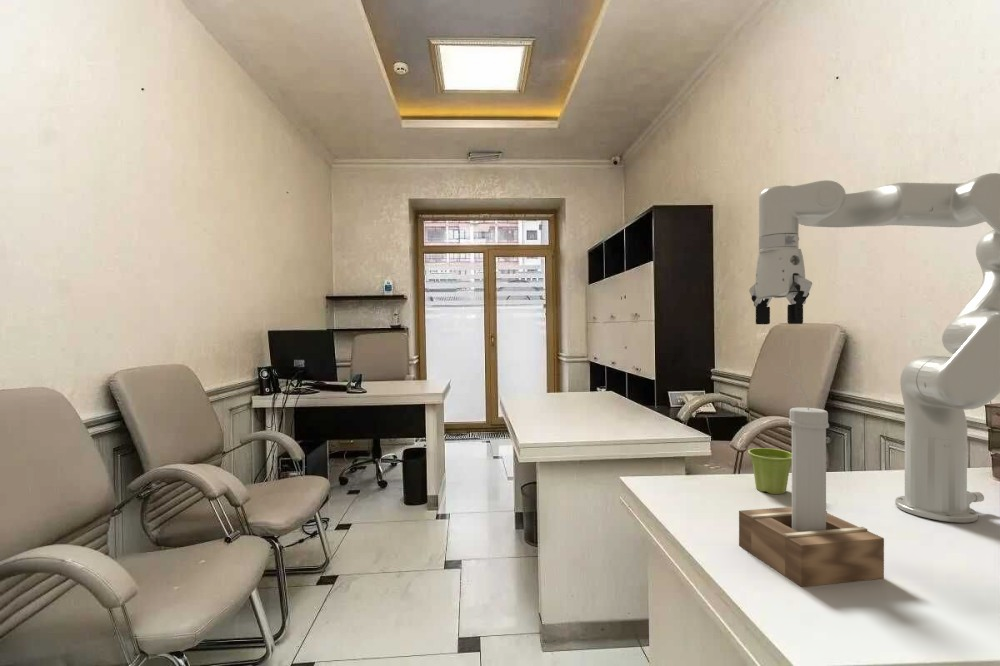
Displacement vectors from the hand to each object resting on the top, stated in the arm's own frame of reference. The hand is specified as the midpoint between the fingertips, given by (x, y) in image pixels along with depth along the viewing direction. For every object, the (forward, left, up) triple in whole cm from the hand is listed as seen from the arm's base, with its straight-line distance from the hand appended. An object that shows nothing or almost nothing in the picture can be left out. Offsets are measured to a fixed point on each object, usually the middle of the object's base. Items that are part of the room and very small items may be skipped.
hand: (778, 324), depth 108 cm
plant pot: (-3, -6, -38) cm, 39 cm away
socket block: (+16, +26, -38) cm, 49 cm away
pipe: (+16, +26, -38) cm, 49 cm away
